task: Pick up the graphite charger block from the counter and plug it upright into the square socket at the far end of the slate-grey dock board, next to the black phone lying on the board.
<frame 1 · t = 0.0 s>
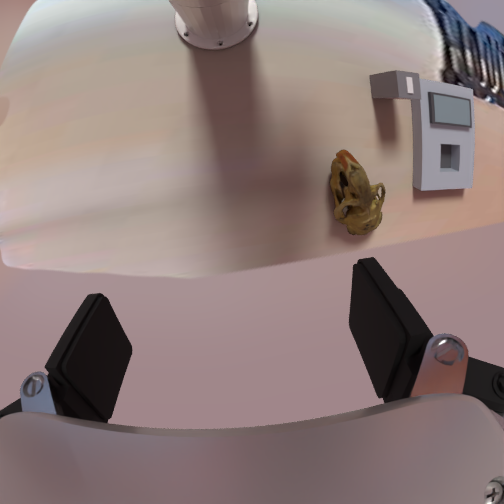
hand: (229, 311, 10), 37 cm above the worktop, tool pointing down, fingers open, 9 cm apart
dock board: (441, 134, 40), on the worktop
charger: (381, 87, 37), on the worktop
animal skull: (344, 185, 46), on the worktop
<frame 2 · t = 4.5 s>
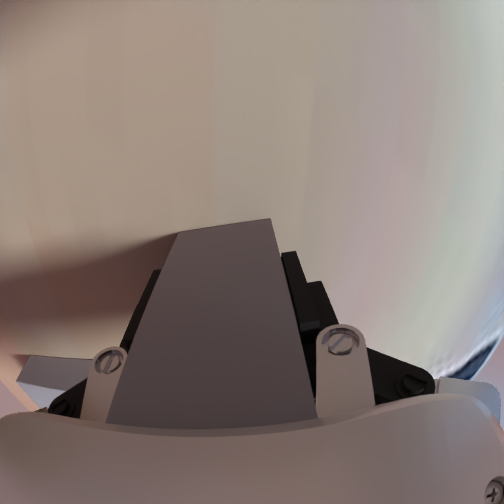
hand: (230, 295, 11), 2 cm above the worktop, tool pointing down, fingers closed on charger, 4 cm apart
dock board: (164, 414, 19), on the worktop
charger: (231, 265, 13), on the worktop, touching gripper
when the fingers open (4 cm above the worktop, at t = 8.6 s): charger drops 1 cm, resting on dock board.
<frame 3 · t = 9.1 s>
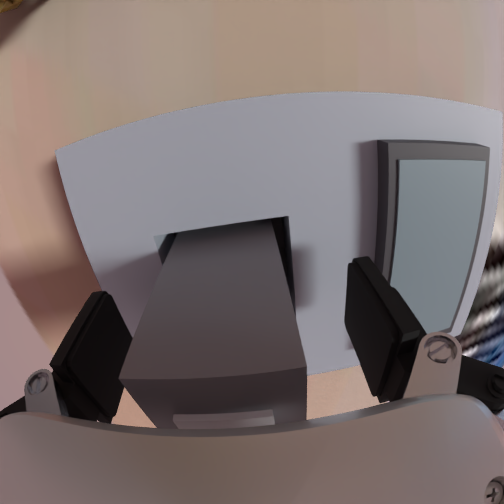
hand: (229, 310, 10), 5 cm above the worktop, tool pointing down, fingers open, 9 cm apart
dock board: (311, 239, 14), on the worktop
charger: (232, 252, 14), resting on dock board
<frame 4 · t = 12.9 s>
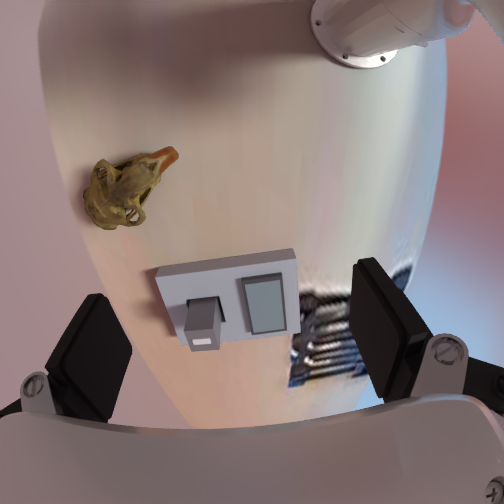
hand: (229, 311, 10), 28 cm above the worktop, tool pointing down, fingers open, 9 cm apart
dock board: (232, 296, 45), on the worktop
charger: (207, 300, 44), resting on dock board
animal skull: (141, 175, 35), on the worktop
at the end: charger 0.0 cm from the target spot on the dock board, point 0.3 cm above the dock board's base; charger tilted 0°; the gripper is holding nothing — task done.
